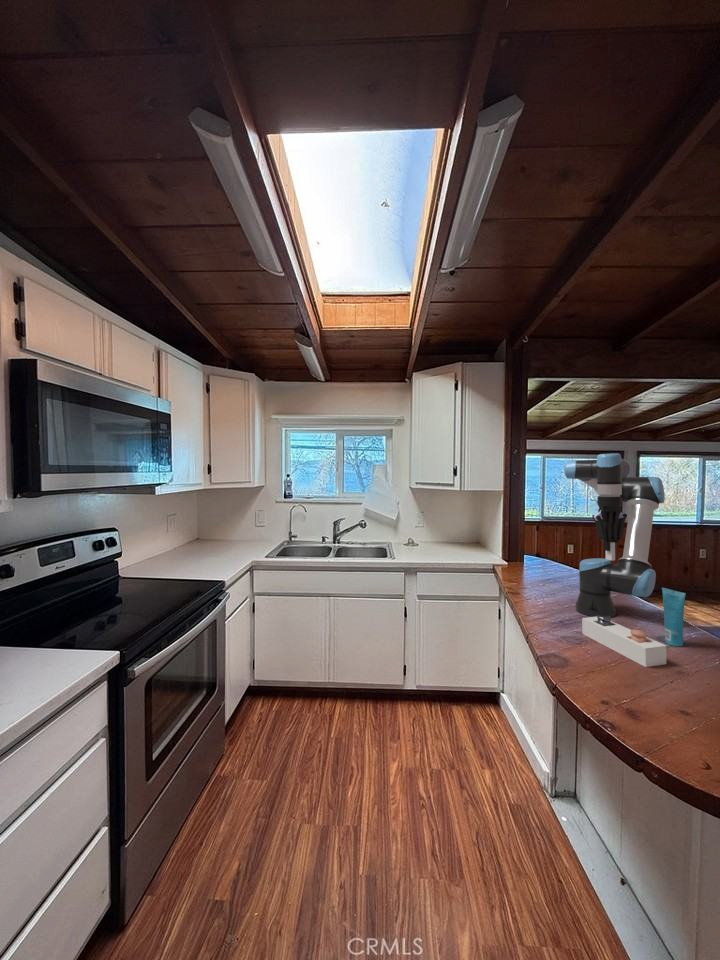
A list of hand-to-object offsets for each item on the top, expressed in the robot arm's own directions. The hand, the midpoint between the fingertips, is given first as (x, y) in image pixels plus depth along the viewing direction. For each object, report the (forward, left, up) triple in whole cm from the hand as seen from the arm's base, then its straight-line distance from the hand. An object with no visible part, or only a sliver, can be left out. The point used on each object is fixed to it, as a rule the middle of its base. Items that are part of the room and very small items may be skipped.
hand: (610, 559), depth 140 cm
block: (+2, +6, -30) cm, 30 cm away
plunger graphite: (+2, -1, -29) cm, 29 cm away
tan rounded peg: (+2, +13, -29) cm, 32 cm away
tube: (-18, +8, -30) cm, 36 cm away
